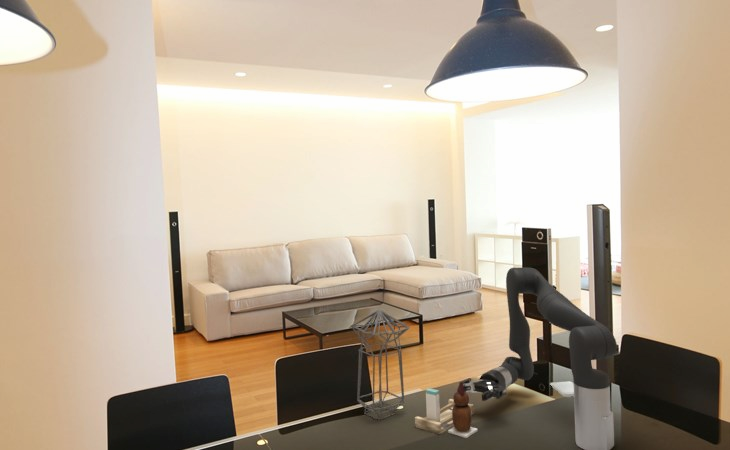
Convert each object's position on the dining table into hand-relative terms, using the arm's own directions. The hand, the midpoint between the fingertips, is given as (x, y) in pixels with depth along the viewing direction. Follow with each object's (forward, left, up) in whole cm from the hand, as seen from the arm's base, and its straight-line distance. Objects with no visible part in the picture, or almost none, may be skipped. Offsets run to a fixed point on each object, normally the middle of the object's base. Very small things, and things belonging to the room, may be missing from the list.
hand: (470, 394), depth 160 cm
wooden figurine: (0, +5, -9) cm, 11 cm away
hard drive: (-11, -47, -10) cm, 50 cm away
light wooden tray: (+9, +1, -10) cm, 13 cm away
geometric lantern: (+29, +9, -10) cm, 32 cm away
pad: (0, +5, -10) cm, 11 cm away
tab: (+9, +8, -8) cm, 14 cm away
